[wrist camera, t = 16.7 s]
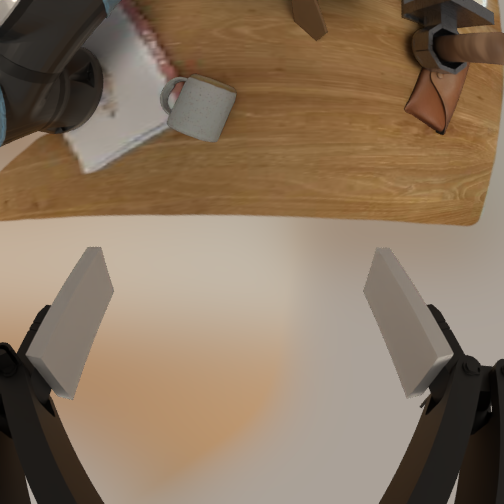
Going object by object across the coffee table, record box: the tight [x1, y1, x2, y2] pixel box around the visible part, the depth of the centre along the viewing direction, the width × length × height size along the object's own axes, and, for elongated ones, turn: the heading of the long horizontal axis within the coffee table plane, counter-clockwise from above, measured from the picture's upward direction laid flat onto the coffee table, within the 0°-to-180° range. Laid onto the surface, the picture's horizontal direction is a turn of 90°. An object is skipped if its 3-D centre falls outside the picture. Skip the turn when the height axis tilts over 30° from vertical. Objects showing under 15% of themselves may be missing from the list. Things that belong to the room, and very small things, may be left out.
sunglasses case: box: [404, 62, 470, 135], centre depth 35 cm, size 18×7×7 cm
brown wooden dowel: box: [432, 32, 504, 65], centre depth 23 cm, size 4×4×16 cm
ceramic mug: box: [160, 74, 237, 142], centre depth 36 cm, size 11×8×8 cm
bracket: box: [402, 0, 494, 75], centre depth 26 cm, size 14×8×14 cm, turn 177°
